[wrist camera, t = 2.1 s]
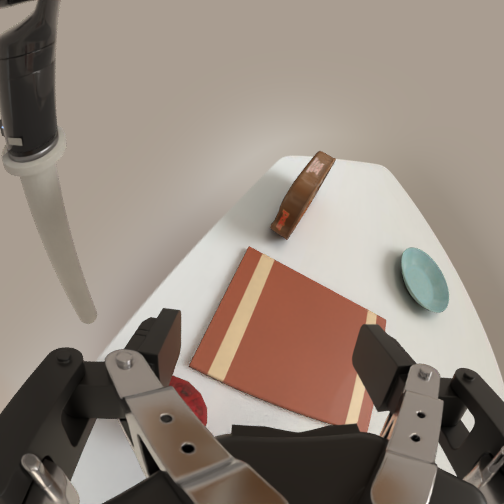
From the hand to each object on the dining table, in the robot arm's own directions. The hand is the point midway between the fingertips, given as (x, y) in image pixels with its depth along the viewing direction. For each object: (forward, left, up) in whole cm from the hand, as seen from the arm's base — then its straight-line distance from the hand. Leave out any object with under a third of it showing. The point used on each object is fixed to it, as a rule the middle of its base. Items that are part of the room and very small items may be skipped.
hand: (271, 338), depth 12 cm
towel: (+8, +8, -15) cm, 19 cm away
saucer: (+25, +26, -15) cm, 39 cm away
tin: (+1, +25, -15) cm, 29 cm away
